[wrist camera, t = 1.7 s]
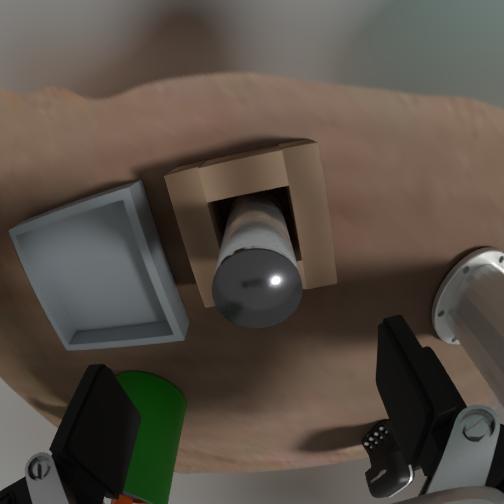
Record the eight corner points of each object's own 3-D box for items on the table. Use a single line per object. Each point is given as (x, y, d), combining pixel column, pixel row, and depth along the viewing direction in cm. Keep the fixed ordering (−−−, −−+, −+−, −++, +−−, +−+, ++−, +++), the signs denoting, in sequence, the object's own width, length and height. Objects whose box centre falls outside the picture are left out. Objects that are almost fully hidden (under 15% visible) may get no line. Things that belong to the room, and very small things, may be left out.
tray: (141, 179, 25) (128, 187, 23) (189, 321, 31) (184, 340, 28) (25, 219, 27) (8, 230, 24) (77, 334, 32) (66, 350, 30)
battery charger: (378, 416, 38) (398, 481, 28) (397, 417, 39) (419, 479, 28) (353, 442, 41) (367, 503, 31) (373, 443, 41) (388, 500, 31)
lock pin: (276, 185, 26) (295, 242, 14) (286, 234, 27) (307, 319, 16) (224, 196, 26) (200, 260, 15) (236, 244, 28) (224, 334, 16)
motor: (106, 394, 37) (59, 518, 18) (122, 357, 34) (63, 506, 15) (173, 425, 39) (148, 551, 20) (199, 393, 36) (176, 546, 17)
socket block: (308, 138, 24) (317, 142, 20) (327, 261, 28) (337, 283, 25) (176, 166, 25) (163, 176, 21) (210, 283, 29) (205, 307, 26)
